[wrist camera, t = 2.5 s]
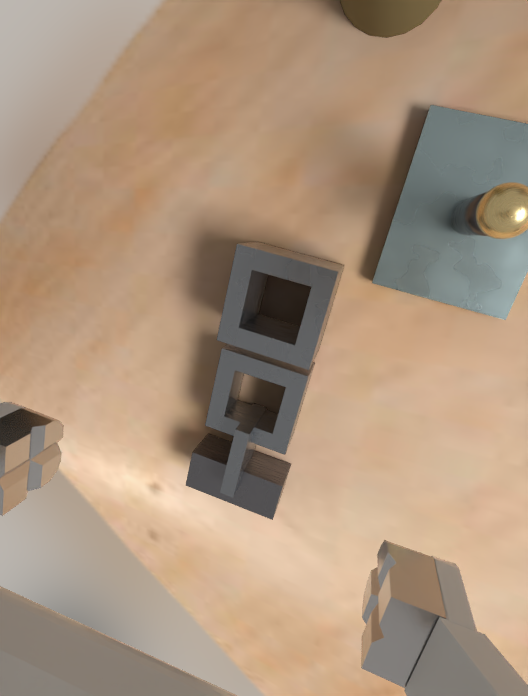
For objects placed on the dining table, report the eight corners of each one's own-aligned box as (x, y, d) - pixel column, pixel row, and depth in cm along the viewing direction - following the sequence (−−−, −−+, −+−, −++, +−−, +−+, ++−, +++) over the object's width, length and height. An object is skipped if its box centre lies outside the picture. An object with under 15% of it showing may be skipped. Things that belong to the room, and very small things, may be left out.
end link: (258, 241, 28) (237, 243, 23) (344, 265, 27) (338, 271, 22) (239, 324, 30) (216, 340, 25) (319, 349, 29) (308, 369, 24)
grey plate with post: (428, 110, 23) (458, 40, 15) (580, 139, 22) (709, 82, 13) (372, 281, 26) (370, 304, 18) (500, 316, 25) (563, 360, 17)
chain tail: (230, 335, 30) (207, 351, 26) (321, 364, 29) (312, 386, 25) (201, 464, 34) (177, 496, 30) (281, 495, 33) (267, 533, 28)
